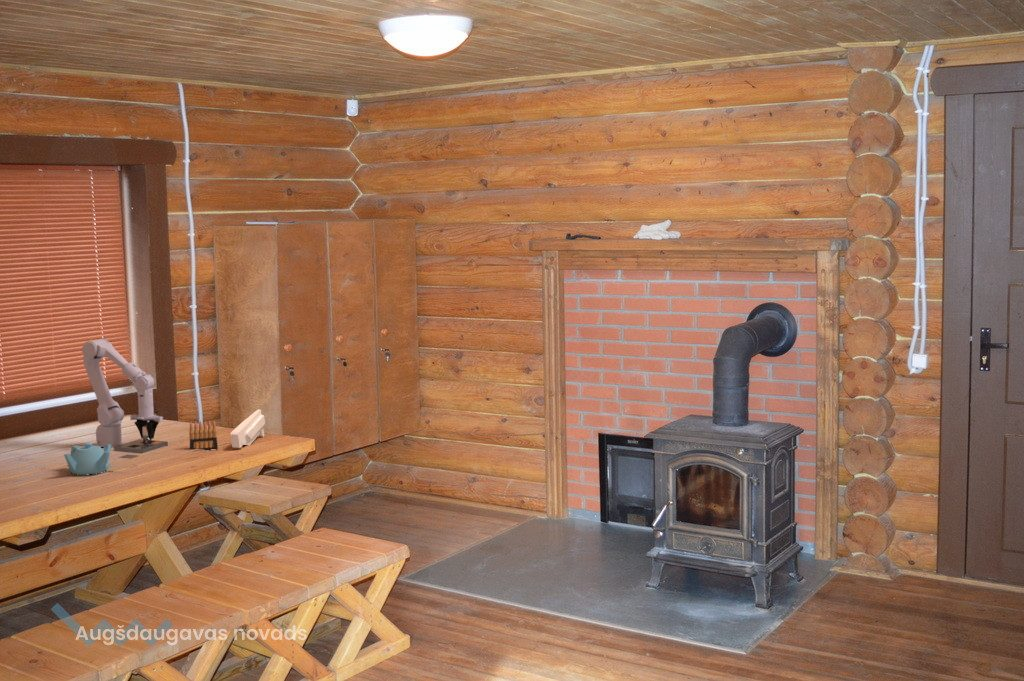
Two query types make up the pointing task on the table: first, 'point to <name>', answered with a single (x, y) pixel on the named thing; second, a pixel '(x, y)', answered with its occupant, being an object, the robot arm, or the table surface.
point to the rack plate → (140, 446)
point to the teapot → (88, 459)
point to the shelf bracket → (248, 430)
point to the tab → (129, 456)
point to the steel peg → (145, 435)
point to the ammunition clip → (203, 436)
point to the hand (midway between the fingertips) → (147, 438)
